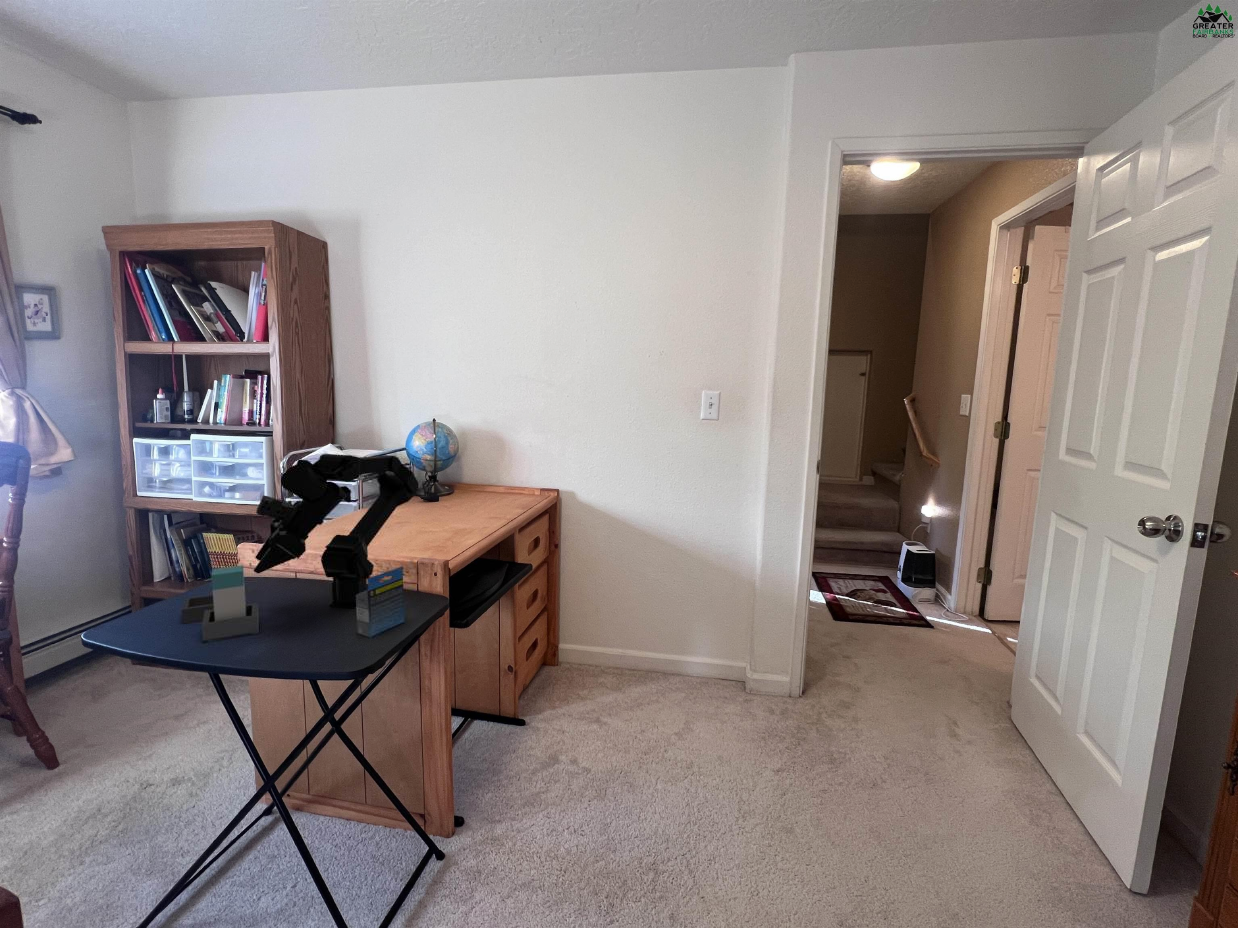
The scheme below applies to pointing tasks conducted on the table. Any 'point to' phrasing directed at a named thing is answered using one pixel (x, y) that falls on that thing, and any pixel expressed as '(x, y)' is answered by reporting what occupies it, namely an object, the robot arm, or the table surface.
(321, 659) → the table surface
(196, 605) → the frame
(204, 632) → the port
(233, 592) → the plug
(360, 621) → the label tape cartridge
